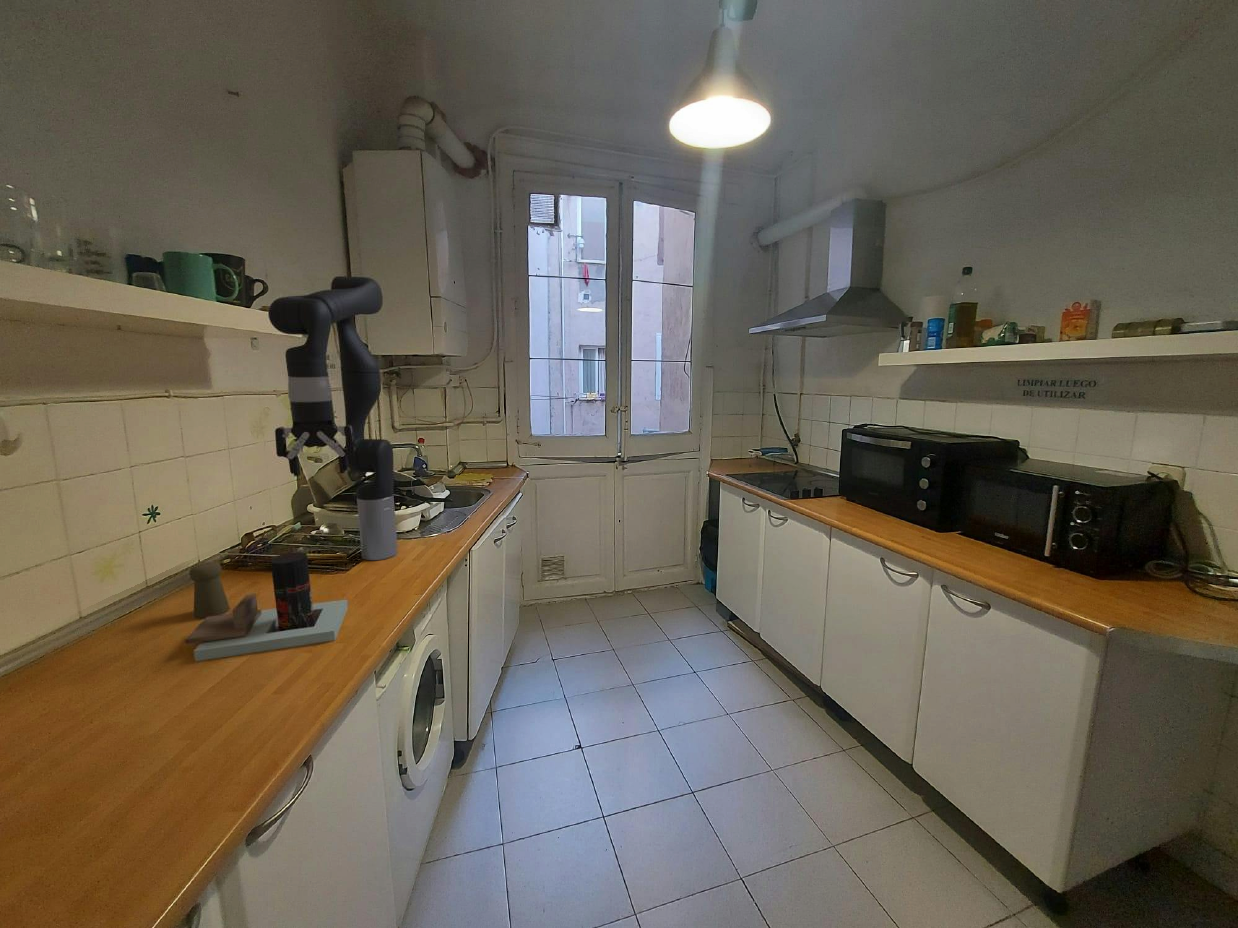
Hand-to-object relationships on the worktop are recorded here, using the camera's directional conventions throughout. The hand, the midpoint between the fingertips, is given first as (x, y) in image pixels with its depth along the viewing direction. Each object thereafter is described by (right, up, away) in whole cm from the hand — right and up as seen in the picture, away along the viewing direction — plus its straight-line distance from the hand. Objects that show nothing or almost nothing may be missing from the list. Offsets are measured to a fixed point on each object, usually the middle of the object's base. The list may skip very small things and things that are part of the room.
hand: (320, 474), depth 105 cm
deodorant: (-1, -31, -7) cm, 32 cm away
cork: (-23, -30, 0) cm, 38 cm away
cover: (-11, -29, -11) cm, 33 cm away
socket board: (-3, -31, -8) cm, 33 cm away
